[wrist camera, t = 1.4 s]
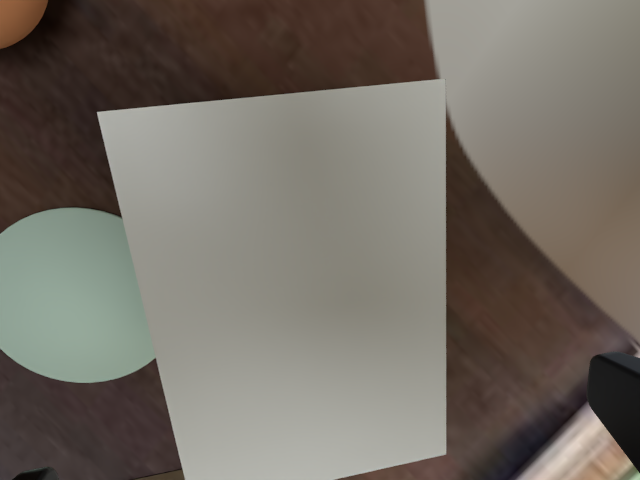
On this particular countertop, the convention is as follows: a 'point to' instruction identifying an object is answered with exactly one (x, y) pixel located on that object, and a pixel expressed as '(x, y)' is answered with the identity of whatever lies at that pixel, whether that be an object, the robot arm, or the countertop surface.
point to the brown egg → (19, 19)
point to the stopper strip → (166, 476)
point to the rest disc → (72, 297)
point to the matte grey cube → (292, 275)
